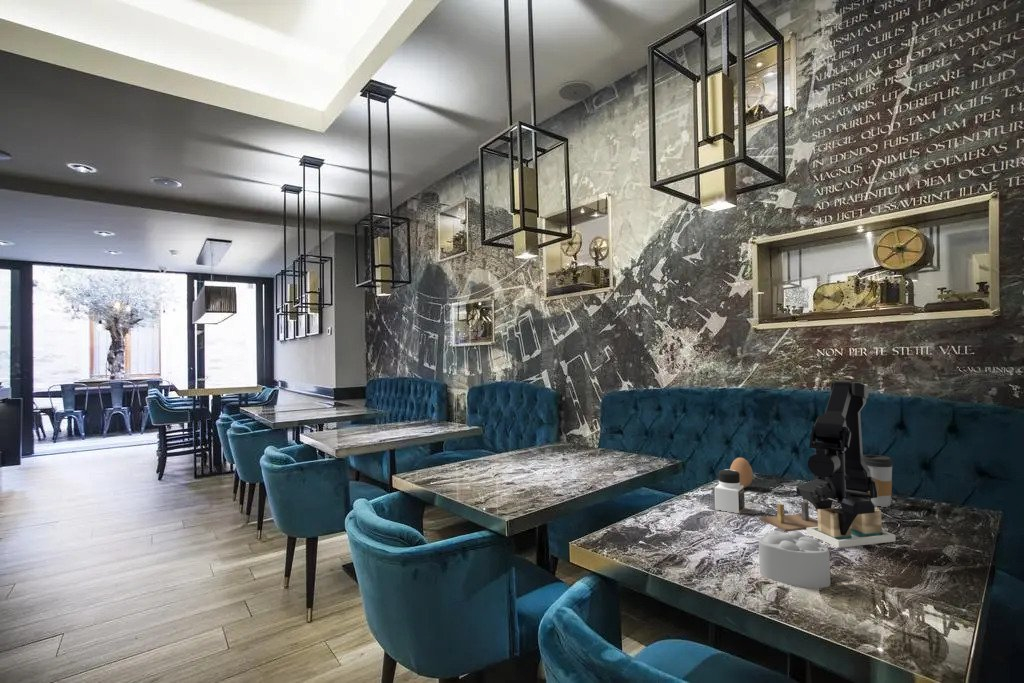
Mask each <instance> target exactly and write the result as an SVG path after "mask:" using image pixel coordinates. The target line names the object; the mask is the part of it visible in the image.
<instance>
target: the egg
mask: <svg viewBox="0 0 1024 683" xmlns="http://www.w3.org/2000/svg"><path fill="white" fill-rule="evenodd" d="M729 470H735V471H737V472H739V474H740V485H743V486H744V489H745V488H747V487H749V486H750V485H751V483H752V482H753V478H754V473H753V469H752V467H751V464H750V462H749V461H748V460H747V459H746V458H744V457H736V458H735V459H734V460H733V461H732V462H731V465H730V468H729Z"/></svg>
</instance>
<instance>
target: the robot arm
mask: <svg viewBox="0 0 1024 683" xmlns="http://www.w3.org/2000/svg"><path fill="white" fill-rule="evenodd" d="M829 384H830V386H829V387H830V388H829V389H830V394H829V395H830V396H829V399H828V402H827V404H826V405H827V406H826V408H825V412H823V414H821V415H819V416H817V418H816V421H815V423H814V424H813V425H812V426H811V431H810V432H811V433H810V438H809V444H808V445H809V448H810V449H814V450H815V453H813V454H812V455H811V456H809V457H808V460H807V467H808V470H809V471H810V473H811V474H813V479H812V480H809V481H807V482H805V483H798V484H797V486H796V488H795V490H796V495H797V496H801V498H802V500H804V501H806V502H807V501H808V503H810V504H812V505H813V507H814V508H815V510H816V512H817V509H825V508H833V507H832V505H833V503H838V504H839V505H840V507H838V508H836V507H835V508H836V509H834V510H835V511H836V512H837V513H838V515H839V526H840V533H841V535H846V533H847V531H848V529H849V528H850V526H851V524H852V522H853V521H854V519H855V518H856V516H857V515H858V514H867V513H875V509H876V508H875V506H874V503H873V502H872V501H871V498H877V497H878V496H877V487H876V483H875V482H874V480H873V477H871V472H870V469H869V467H868V466H867V465H866V464H865V462H864V461H863V455H864V453H863V452H864V451H863V437H862V435H863V434H862V420H861V418H862V417H861V411H862V410H863V408H864V407H865V405H866V403H867V399H868V398H869V387H868V386H867V385H866V384H864V383H863V382H861V381H860V382H859V381H856V382H855V381H851V380H850V381H849V380H835V381H832V382H830V383H829ZM868 491H870V492H868Z"/></svg>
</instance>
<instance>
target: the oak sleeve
mask: <svg viewBox="0 0 1024 683" xmlns="http://www.w3.org/2000/svg"><path fill="white" fill-rule="evenodd" d="M834 509H836V507H831V508H825V509H817V511H816V512H817V513H816V514H817V520H818V530H817V531H819V532H821V533H823V534H826V535H828V536H830V537H833V538H835V539H838V540H842V539H851V538H852V536H851V526H850V528H849V529H848V531H847V533H846V535H841V533H840V526H839V515H838V513H837V512H836V511H835V510H834Z"/></svg>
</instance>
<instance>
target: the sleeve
mask: <svg viewBox="0 0 1024 683" xmlns="http://www.w3.org/2000/svg"><path fill="white" fill-rule="evenodd" d="M882 530H883V526H882V510H881V509H878V508H875V513H867V514H858V515H857V516H856V518H855V519H854V521H853V522H852V524H851V534H852V535H855V536H857V537H869V536H878V535H883V532H882Z"/></svg>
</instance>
